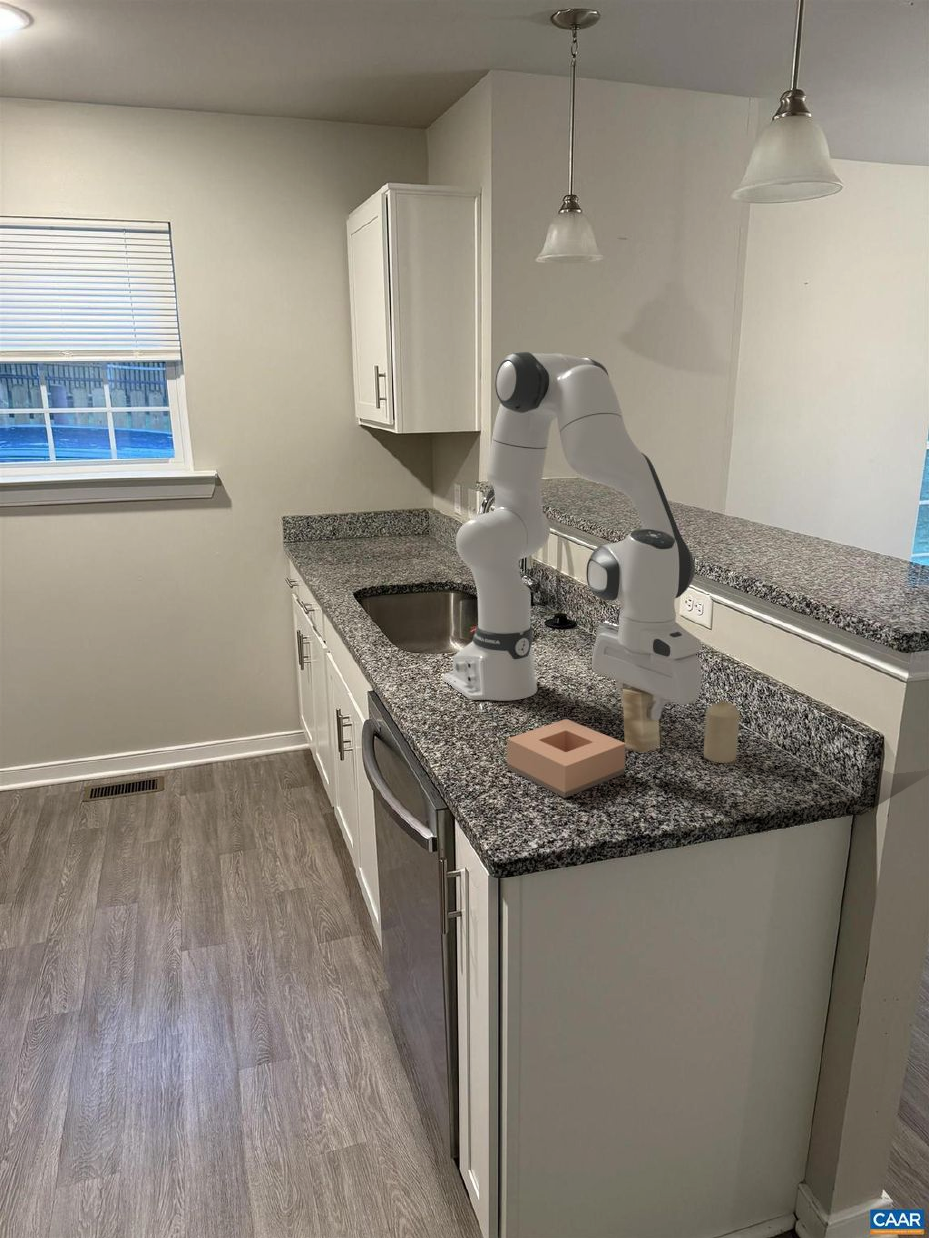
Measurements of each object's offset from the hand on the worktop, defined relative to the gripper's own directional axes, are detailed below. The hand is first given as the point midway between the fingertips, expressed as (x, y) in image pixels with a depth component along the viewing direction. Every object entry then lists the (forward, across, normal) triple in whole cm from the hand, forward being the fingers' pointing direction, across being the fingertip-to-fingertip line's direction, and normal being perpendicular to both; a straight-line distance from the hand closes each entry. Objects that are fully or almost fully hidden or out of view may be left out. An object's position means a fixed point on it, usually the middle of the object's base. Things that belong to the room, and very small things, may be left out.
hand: (640, 712), depth 138 cm
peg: (+6, +1, 0) cm, 6 cm away
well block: (+11, -8, -9) cm, 16 cm away
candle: (+11, +5, +16) cm, 20 cm away
